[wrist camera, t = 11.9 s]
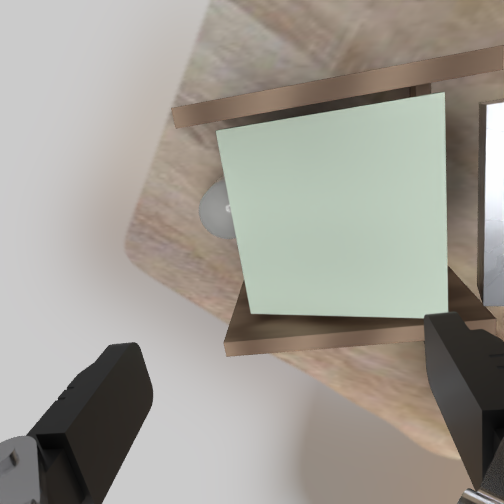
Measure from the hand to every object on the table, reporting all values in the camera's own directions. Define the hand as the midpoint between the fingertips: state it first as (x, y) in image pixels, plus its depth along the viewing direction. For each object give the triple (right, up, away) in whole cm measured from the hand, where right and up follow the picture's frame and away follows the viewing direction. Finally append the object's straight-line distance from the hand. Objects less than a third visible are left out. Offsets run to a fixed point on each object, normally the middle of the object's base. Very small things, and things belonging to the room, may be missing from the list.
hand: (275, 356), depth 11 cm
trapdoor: (+9, +6, +17) cm, 20 cm away
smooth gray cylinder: (-3, +6, +25) cm, 26 cm away
